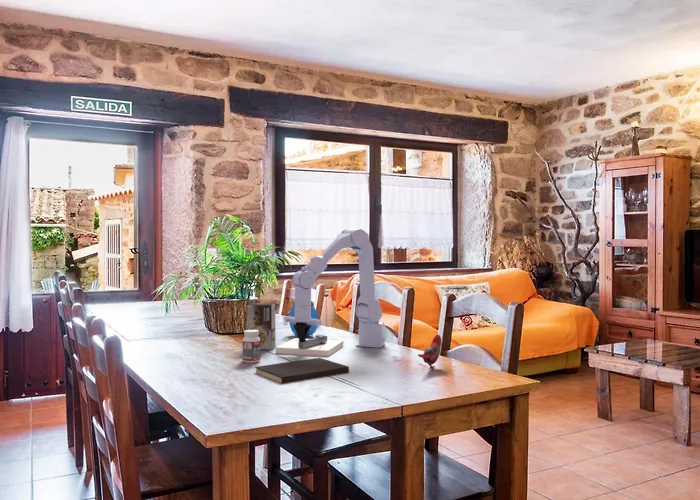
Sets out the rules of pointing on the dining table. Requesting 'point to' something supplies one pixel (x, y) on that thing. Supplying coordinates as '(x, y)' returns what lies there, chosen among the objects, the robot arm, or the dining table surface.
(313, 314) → the alarm clock
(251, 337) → the pill bottle
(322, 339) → the latch handle
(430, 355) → the decorative bird figurine
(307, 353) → the cover plate
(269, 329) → the coffee box
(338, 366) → the hardcover book
